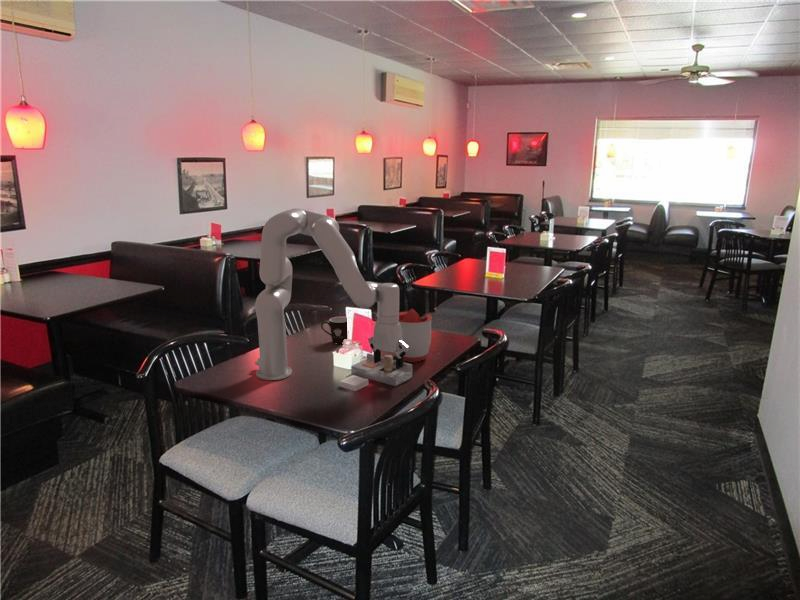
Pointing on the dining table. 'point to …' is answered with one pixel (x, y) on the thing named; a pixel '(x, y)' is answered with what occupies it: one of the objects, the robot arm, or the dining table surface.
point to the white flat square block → (354, 383)
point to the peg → (388, 363)
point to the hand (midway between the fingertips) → (388, 364)
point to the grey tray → (382, 371)
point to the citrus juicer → (415, 335)
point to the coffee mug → (337, 329)
